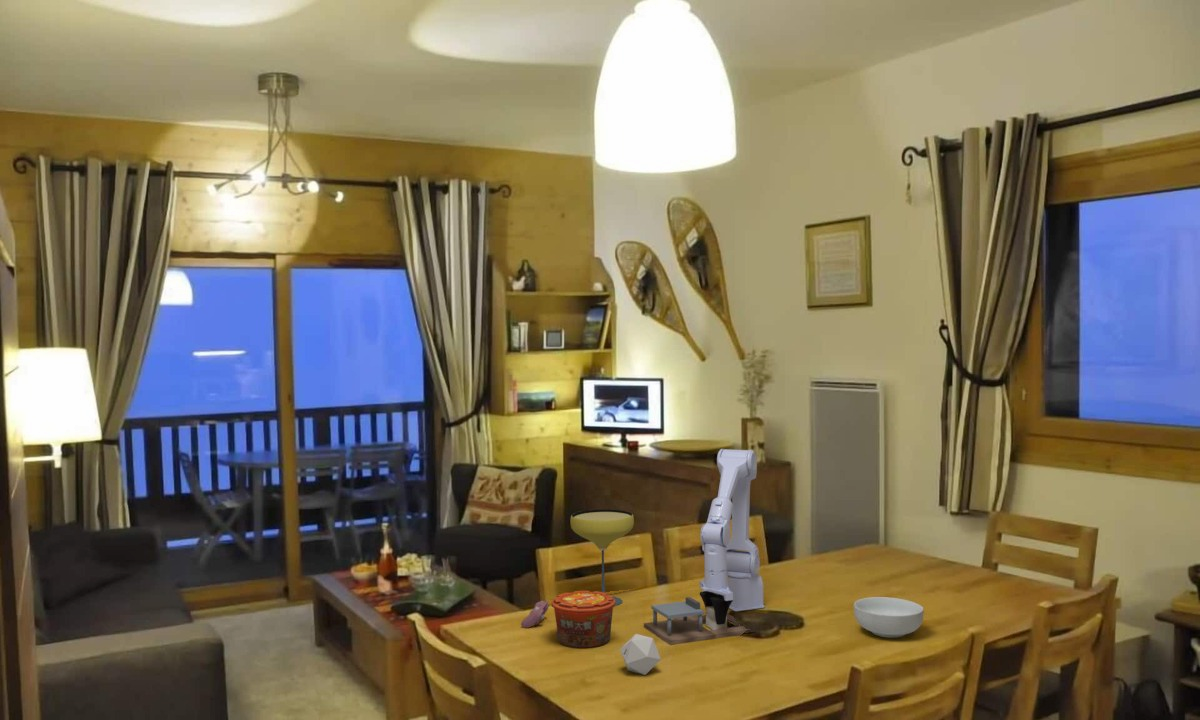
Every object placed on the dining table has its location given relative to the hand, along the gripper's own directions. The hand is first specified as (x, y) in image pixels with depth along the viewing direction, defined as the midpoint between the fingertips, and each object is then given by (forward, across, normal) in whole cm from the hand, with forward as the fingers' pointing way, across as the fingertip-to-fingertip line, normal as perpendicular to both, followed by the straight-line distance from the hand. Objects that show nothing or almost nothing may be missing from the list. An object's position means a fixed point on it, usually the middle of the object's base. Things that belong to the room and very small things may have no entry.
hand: (716, 621), depth 253 cm
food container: (+2, -4, -35) cm, 35 cm away
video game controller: (+2, -23, -42) cm, 48 cm away
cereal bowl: (+2, +22, +37) cm, 43 cm away
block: (+1, 0, 0) cm, 1 cm away
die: (+2, +22, -31) cm, 38 cm away
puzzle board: (+2, 0, -5) cm, 5 cm away
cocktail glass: (+2, -35, -18) cm, 39 cm away
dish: (+2, -15, -3) cm, 15 cm away
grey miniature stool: (0, 0, -11) cm, 11 cm away
